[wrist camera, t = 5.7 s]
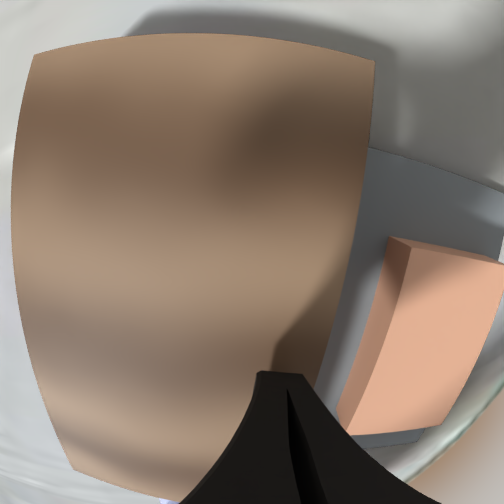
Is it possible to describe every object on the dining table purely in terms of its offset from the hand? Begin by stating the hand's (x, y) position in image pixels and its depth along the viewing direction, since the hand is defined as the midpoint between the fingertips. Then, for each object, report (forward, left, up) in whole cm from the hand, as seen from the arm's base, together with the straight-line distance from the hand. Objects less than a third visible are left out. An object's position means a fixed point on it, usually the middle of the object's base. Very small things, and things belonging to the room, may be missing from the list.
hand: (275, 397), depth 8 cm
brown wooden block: (0, +4, -5) cm, 6 cm away
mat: (0, -6, -5) cm, 8 cm away
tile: (0, -7, -2) cm, 7 cm away
